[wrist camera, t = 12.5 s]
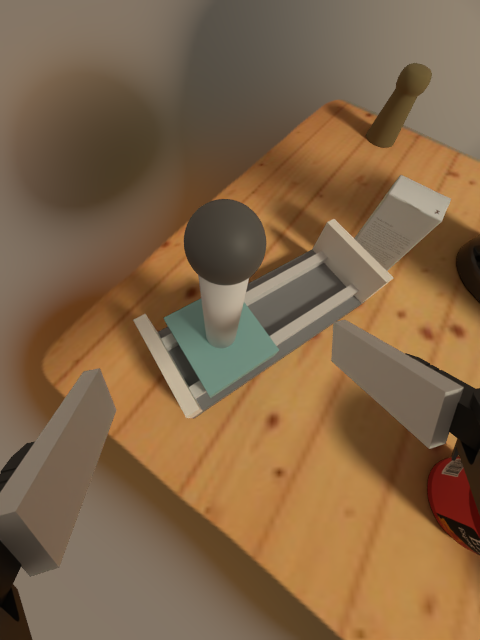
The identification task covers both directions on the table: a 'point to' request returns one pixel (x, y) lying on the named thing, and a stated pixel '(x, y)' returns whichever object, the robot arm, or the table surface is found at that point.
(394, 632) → the table surface
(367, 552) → the table surface
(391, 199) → the skincare box
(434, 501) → the canned food
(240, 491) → the table surface
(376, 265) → the rail track
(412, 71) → the olive pawn figure
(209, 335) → the carriage
